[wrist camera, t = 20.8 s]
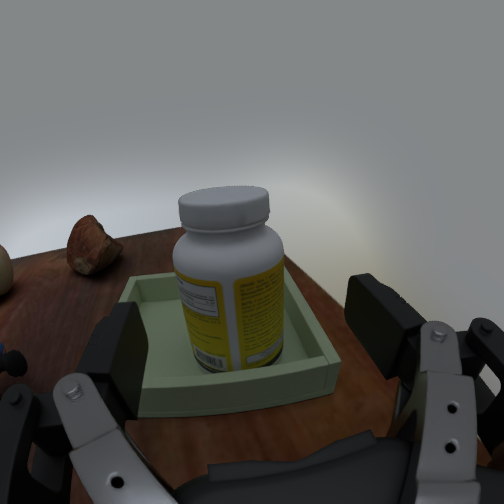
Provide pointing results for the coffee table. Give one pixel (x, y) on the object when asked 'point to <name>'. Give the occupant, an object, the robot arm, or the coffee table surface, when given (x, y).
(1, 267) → the apple
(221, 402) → the tray
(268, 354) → the pill bottle
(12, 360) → the person figurine
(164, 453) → the coffee table surface
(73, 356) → the coffee table surface
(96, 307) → the coffee table surface
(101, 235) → the fossil
